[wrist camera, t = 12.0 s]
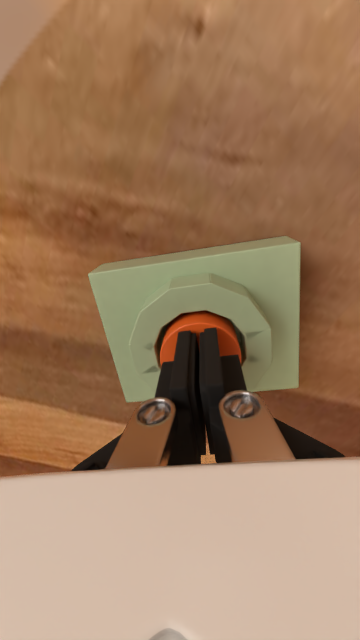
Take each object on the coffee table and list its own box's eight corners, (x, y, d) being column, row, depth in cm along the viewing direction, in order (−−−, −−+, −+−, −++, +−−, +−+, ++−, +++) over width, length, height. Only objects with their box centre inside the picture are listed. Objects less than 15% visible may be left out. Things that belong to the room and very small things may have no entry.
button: (170, 374, 15) (167, 395, 13) (157, 312, 13) (152, 328, 12) (239, 367, 14) (244, 389, 13) (233, 303, 13) (238, 318, 11)
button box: (134, 380, 18) (117, 426, 15) (101, 263, 15) (70, 284, 12) (287, 366, 17) (311, 411, 14) (286, 235, 14) (317, 249, 10)
